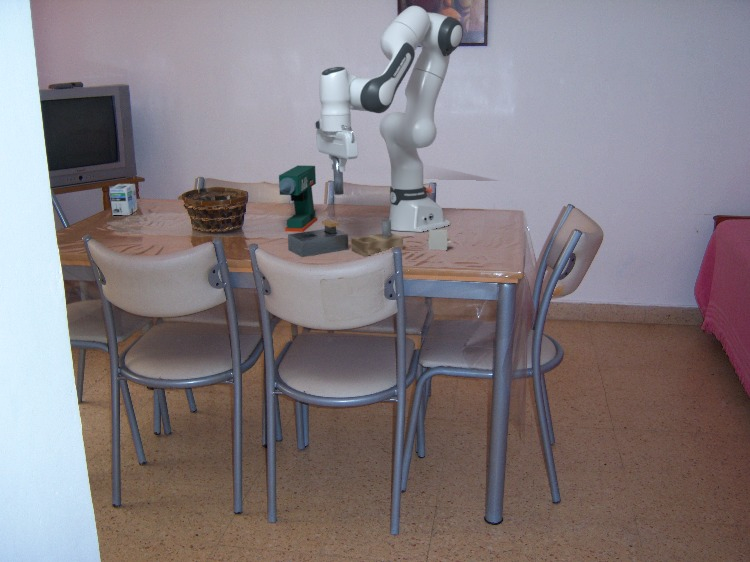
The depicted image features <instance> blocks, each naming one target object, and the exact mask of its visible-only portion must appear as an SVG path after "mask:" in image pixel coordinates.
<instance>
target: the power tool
mask: <svg viewBox="0 0 750 562" xmlns="http://www.w3.org/2000/svg"><path fill="white" fill-rule="evenodd" d="M316 176H317V175H316V165H296V166H294V167H292V168H290V169H289V170H286V171H284V172H283V173H280V174H279V175H278V188H279V195H280V196H281V195H282V196H290V201H291V202H293V204H294V205H293V206H294V213H295V214H293V215H292V216H291V217H289V218H288V219H286V227H285V228H284V231H285V232H294V233H301V232H306V230H308V229H309V228H310V227H311V226H313V225H314V223H316V222H317V221H318V220H319V219H318V216H316V215H317V214H316V210H315V205H314V197H313V186H314V185H316V184H317V182H316V181H317V180H316V179H317V178H316Z"/></svg>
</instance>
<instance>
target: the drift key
mask: <svg viewBox="0 0 750 562" xmlns="http://www.w3.org/2000/svg"><path fill="white" fill-rule="evenodd" d="M321 225H322V226H324V229H325V233H328V234H330V235H331V234H336V229H337V227H339V226H340V223H339V222H337V221H335V220H332V219H326V220H322V221H321Z"/></svg>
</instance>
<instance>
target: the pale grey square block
mask: <svg viewBox="0 0 750 562" xmlns="http://www.w3.org/2000/svg"><path fill="white" fill-rule="evenodd" d="M428 232H429V234H428V239H427V242H428V243H427V250H428V249H429V250H430V249H433V250H434V249H437V250H438V249H439V250H447V251H448V243H451V242H452V240H451V238H448V229H441V228H437V229H432V230H428Z"/></svg>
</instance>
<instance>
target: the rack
mask: <svg viewBox="0 0 750 562" xmlns="http://www.w3.org/2000/svg"><path fill="white" fill-rule="evenodd" d="M381 225H382V227H381V233H378V234H377V233H376V234H371V235H363V236H359V237H351V238H350V240H351V244H350V247H351V252H353V253H355V254H357V255H359V256H362V257H369V256H368V255H371V254H375V253H379V252H382V251H386V250H389V249H390V248H392V247H395V246H399V247H401V248H403V249H404V237H403V236H400V235H397V234H395V233H392V229H391V220H389V219H383V220H381ZM371 256H372V255H371Z"/></svg>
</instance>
